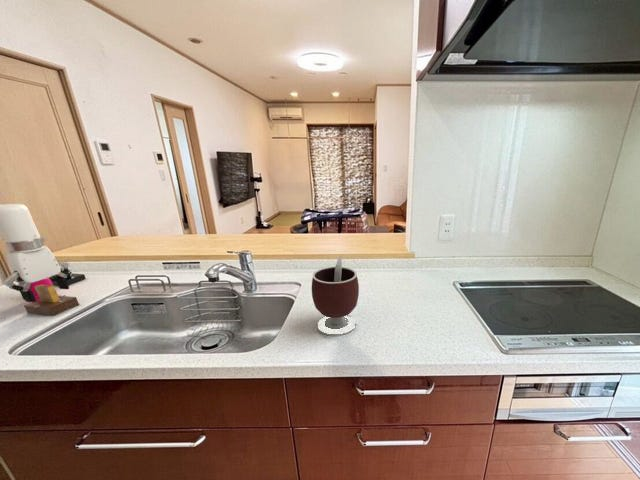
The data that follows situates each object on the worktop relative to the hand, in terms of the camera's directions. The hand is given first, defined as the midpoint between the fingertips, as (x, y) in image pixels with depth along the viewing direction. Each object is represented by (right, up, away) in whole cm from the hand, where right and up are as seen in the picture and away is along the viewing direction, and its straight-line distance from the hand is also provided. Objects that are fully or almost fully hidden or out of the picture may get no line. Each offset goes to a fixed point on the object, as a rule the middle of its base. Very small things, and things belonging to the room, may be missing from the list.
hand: (48, 294), depth 98 cm
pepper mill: (-13, -2, +10) cm, 17 cm away
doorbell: (-19, +4, +23) cm, 30 cm away
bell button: (-19, +7, +22) cm, 30 cm away
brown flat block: (0, -5, +2) cm, 5 cm away
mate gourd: (+97, -9, -5) cm, 97 cm away
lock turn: (0, -2, +1) cm, 2 cm away
